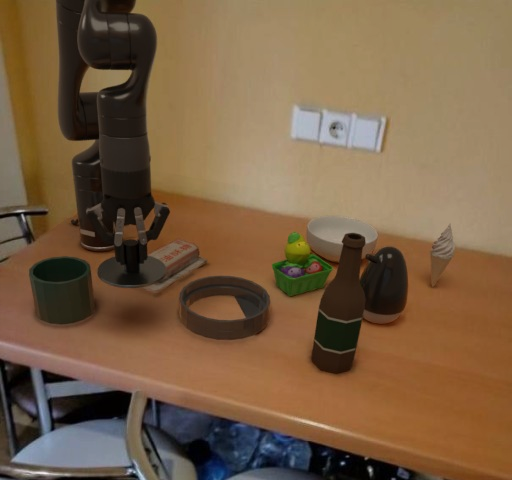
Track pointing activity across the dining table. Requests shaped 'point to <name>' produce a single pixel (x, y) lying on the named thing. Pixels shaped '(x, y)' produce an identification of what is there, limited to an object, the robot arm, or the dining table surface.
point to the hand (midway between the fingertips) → (131, 262)
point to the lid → (131, 269)
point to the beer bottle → (341, 311)
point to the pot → (62, 290)
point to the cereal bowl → (337, 235)
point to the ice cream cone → (441, 254)
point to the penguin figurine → (385, 285)
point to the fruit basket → (300, 268)
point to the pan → (245, 292)
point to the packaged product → (176, 262)
